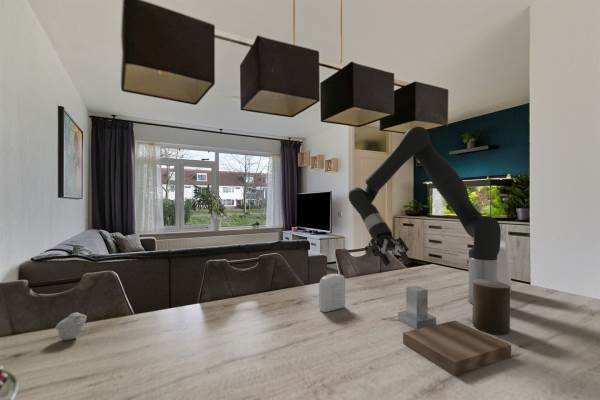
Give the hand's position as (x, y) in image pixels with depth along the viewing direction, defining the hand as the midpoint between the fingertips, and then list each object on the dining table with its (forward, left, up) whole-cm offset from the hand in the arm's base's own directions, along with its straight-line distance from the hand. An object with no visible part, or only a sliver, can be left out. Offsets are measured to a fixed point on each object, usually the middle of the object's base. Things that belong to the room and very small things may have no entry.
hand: (398, 263), depth 101 cm
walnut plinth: (+4, +25, -17) cm, 31 cm away
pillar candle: (-18, +20, -17) cm, 32 cm away
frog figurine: (+98, -22, -17) cm, 102 cm away
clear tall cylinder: (-56, -4, -17) cm, 59 cm away
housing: (0, +8, -17) cm, 19 cm away
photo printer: (+19, -13, -17) cm, 29 cm away
